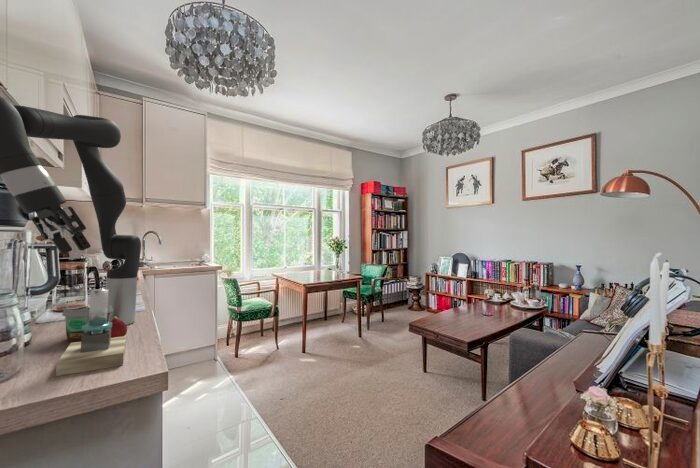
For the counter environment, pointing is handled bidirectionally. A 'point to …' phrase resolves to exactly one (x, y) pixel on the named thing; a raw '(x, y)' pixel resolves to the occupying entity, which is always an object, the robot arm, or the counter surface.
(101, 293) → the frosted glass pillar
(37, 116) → the robot arm
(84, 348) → the wooden base with socket
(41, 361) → the counter surface
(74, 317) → the food container
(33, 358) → the counter surface
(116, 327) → the onion
